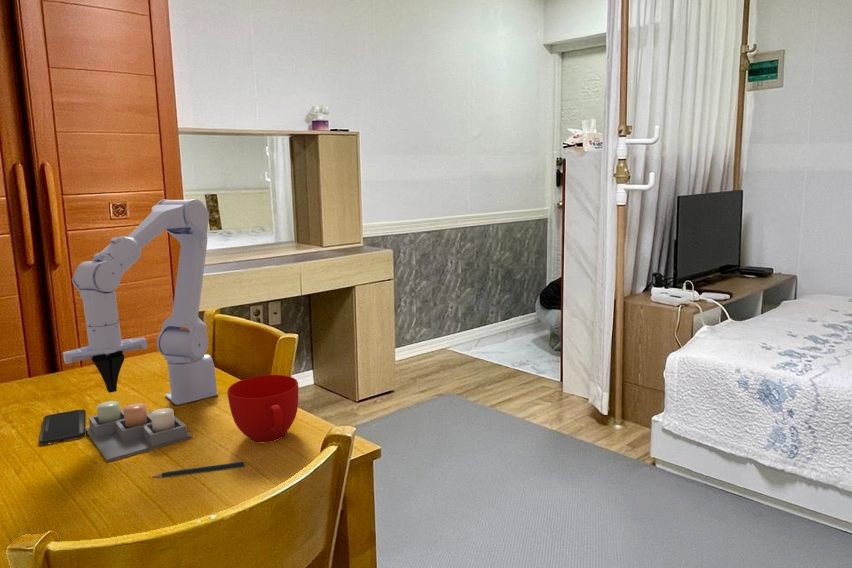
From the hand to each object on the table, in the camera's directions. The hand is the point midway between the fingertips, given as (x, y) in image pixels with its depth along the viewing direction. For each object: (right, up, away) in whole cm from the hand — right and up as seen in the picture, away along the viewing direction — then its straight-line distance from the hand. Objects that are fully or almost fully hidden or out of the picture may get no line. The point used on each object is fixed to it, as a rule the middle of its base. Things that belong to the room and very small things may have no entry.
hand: (111, 390), depth 128 cm
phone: (-12, -9, +4) cm, 15 cm away
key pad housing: (+5, -8, 0) cm, 10 cm away
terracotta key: (+5, -6, -1) cm, 8 cm away
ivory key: (+11, -7, -3) cm, 14 cm away
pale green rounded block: (-1, -6, +2) cm, 7 cm away
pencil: (+23, -12, -16) cm, 30 cm away
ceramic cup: (+32, -9, -5) cm, 33 cm away
